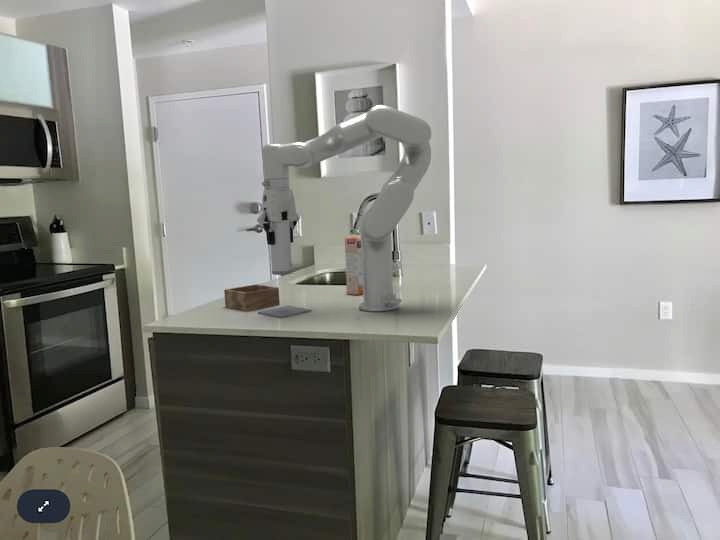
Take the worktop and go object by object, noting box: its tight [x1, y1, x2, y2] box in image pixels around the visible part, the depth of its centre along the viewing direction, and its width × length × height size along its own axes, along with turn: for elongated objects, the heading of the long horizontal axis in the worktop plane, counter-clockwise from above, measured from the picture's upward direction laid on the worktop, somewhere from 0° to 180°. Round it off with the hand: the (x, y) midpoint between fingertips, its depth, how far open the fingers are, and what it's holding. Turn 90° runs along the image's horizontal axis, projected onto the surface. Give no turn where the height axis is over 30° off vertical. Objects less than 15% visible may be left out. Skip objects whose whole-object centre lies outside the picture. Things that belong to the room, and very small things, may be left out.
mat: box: [257, 304, 313, 319], centre depth 183 cm, size 12×12×1 cm
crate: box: [224, 283, 281, 313], centre depth 195 cm, size 13×13×6 cm
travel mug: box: [269, 211, 293, 276], centre depth 180 cm, size 6×7×20 cm
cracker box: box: [344, 234, 363, 296], centre depth 212 cm, size 14×6×21 cm, turn 146°
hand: (280, 242), depth 180 cm, fingers closed on travel mug, 6 cm apart
